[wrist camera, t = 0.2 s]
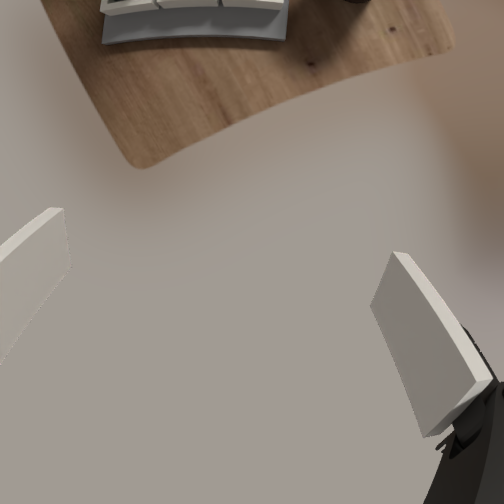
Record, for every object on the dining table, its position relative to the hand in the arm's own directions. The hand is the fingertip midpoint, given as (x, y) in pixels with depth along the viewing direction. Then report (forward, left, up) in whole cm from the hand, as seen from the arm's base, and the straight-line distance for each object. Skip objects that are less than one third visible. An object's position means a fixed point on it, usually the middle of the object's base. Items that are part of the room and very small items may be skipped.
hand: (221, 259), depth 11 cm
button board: (-20, -7, -27) cm, 35 cm away
